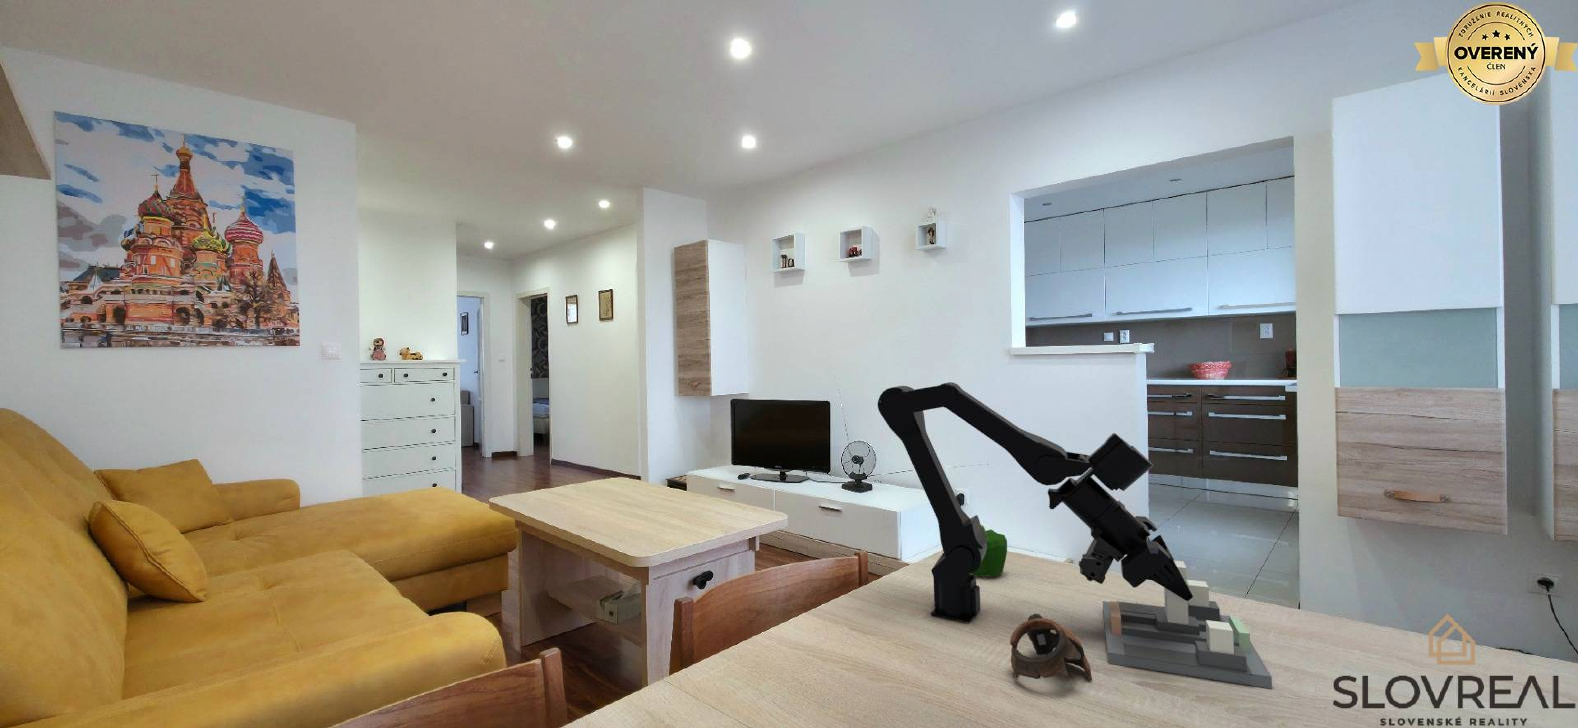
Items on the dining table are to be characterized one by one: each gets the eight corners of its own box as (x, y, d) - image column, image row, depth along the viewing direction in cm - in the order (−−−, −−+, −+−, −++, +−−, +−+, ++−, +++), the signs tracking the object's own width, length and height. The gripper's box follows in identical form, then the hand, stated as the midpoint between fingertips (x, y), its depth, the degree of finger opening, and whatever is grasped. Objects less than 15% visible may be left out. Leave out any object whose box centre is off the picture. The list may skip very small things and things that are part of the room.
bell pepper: (1005, 567, 123) (1003, 517, 123) (1010, 582, 115) (1008, 528, 115) (962, 565, 125) (960, 516, 125) (963, 580, 117) (962, 527, 117)
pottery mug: (1111, 696, 77) (1085, 647, 75) (1040, 726, 78) (1013, 678, 76) (1070, 631, 88) (1047, 587, 86) (1009, 657, 90) (985, 614, 88)
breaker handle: (1158, 635, 88) (1155, 565, 88) (1155, 625, 91) (1153, 558, 91) (1199, 640, 86) (1197, 569, 86) (1195, 630, 89) (1193, 561, 89)
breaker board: (1108, 664, 83) (1106, 616, 83) (1102, 609, 101) (1101, 569, 101) (1272, 690, 76) (1271, 637, 76) (1235, 625, 94) (1234, 583, 94)
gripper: (1060, 529, 103) (1137, 604, 99) (1057, 563, 86) (1150, 656, 82) (1112, 485, 100) (1194, 561, 95) (1119, 512, 83) (1220, 605, 78)
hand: (1188, 594), depth 88 cm, fingers closed on breaker handle, 3 cm apart
